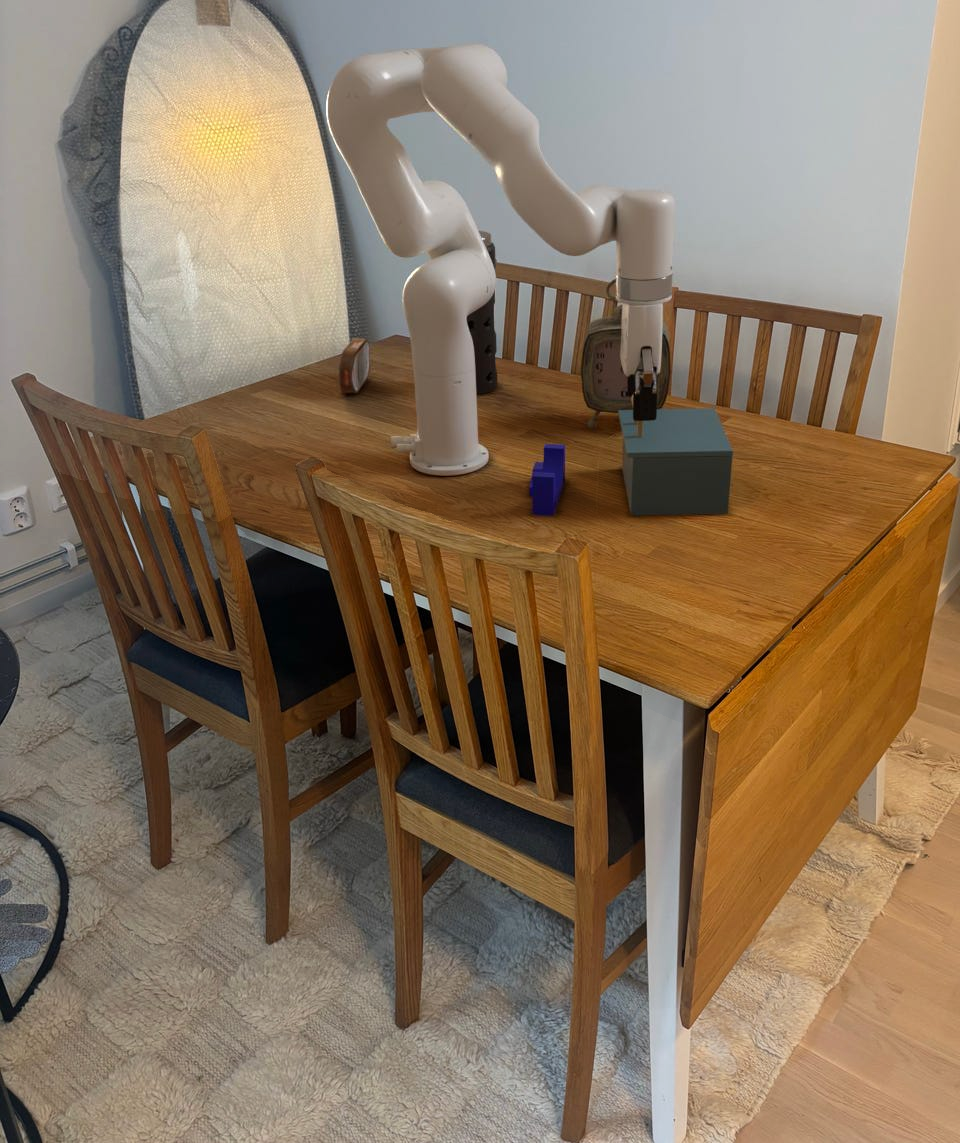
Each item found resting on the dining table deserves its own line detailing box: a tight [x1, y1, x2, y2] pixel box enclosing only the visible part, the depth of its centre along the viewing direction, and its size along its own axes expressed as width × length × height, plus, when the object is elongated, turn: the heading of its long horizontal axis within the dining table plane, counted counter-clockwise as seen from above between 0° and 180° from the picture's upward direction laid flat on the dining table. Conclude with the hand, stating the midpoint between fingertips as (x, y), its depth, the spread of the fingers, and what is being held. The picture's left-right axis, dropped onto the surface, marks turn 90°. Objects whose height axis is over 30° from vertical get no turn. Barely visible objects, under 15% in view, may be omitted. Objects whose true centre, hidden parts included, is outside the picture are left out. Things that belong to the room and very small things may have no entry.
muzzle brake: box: [467, 230, 499, 396], centre depth 196 cm, size 10×28×10 cm
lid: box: [617, 395, 734, 458], centre depth 154 cm, size 14×17×5 cm
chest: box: [621, 438, 733, 516], centre depth 157 cm, size 14×17×9 cm
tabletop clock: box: [580, 278, 672, 429], centre depth 178 cm, size 14×9×25 cm, turn 83°
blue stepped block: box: [528, 443, 566, 517], centre depth 158 cm, size 12×4×6 cm, turn 168°
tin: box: [338, 337, 371, 394], centre depth 203 cm, size 15×3×8 cm, turn 172°
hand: (641, 407), depth 153 cm, fingers open, 9 cm apart
